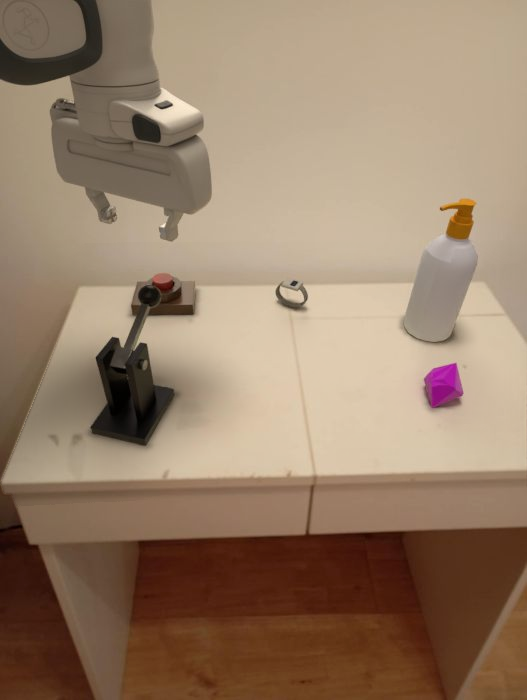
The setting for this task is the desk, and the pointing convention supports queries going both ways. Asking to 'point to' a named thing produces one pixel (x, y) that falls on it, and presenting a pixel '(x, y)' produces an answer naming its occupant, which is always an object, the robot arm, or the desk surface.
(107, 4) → the robot arm
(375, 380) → the desk surface
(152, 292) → the ball knob lever
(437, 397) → the crystal
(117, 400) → the black lever stand
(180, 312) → the panel
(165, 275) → the button
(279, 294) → the wristwatch
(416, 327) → the soap bottle
